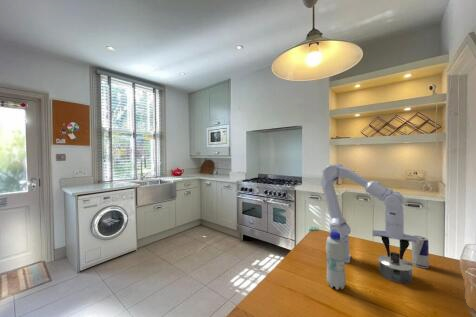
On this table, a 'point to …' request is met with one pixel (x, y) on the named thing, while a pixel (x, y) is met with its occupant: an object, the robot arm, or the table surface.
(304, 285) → the table surface
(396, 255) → the lid
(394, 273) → the pot
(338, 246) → the bottle
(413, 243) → the energy drink
